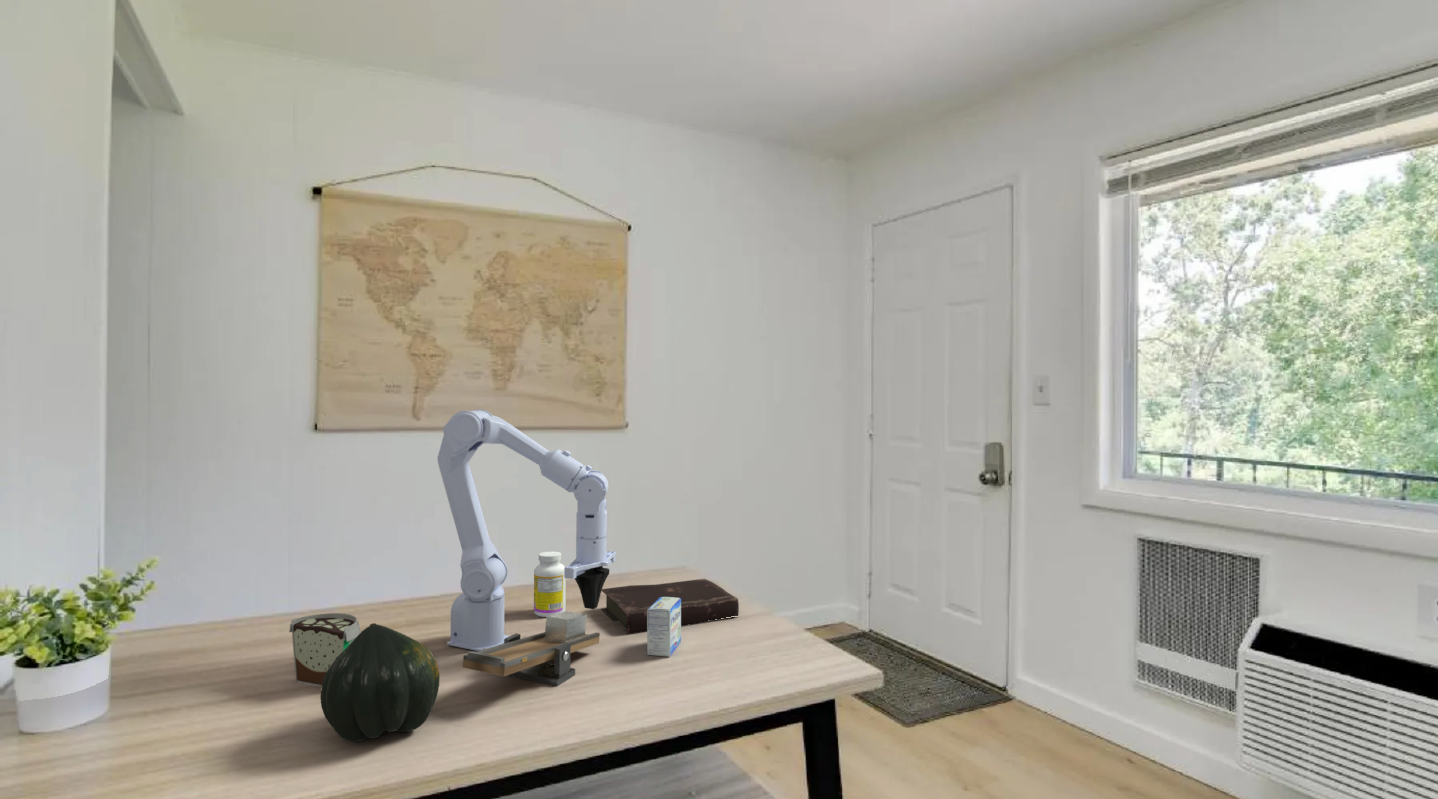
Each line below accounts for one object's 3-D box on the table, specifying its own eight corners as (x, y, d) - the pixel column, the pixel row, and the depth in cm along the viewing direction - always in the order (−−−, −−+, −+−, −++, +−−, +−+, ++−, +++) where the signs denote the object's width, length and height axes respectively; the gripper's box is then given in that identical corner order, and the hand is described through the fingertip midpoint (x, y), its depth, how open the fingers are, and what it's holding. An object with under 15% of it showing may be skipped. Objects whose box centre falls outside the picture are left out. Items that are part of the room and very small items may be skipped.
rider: (544, 639, 123) (546, 616, 124) (564, 633, 129) (566, 611, 129) (565, 643, 122) (567, 619, 122) (584, 637, 127) (586, 614, 128)
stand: (498, 673, 118) (498, 640, 118) (517, 663, 123) (518, 631, 123) (557, 686, 113) (557, 651, 113) (575, 674, 118) (575, 641, 118)
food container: (377, 677, 116) (378, 617, 116) (347, 692, 110) (347, 628, 110) (321, 666, 120) (321, 608, 120) (288, 680, 114) (289, 619, 114)
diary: (739, 621, 149) (739, 598, 149) (627, 638, 138) (628, 613, 137) (701, 596, 166) (702, 575, 165) (599, 610, 154) (599, 587, 154)
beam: (461, 667, 108) (463, 651, 108) (562, 636, 131) (563, 623, 132) (504, 676, 104) (506, 659, 105) (599, 643, 128) (600, 629, 128)
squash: (422, 717, 91) (434, 607, 100) (295, 732, 87) (319, 618, 97) (440, 748, 101) (449, 646, 111) (327, 763, 98) (346, 657, 108)
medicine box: (670, 657, 126) (670, 610, 126) (646, 655, 127) (646, 608, 127) (681, 642, 134) (681, 597, 134) (658, 640, 135) (659, 595, 135)
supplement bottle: (542, 607, 154) (542, 549, 154) (570, 609, 153) (570, 550, 153) (528, 616, 148) (528, 556, 148) (557, 619, 146) (557, 558, 146)
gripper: (587, 545, 124) (587, 621, 125) (629, 531, 138) (628, 599, 138) (554, 542, 127) (554, 616, 127) (598, 528, 140) (598, 595, 141)
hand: (590, 607), depth 133 cm, fingers closed
